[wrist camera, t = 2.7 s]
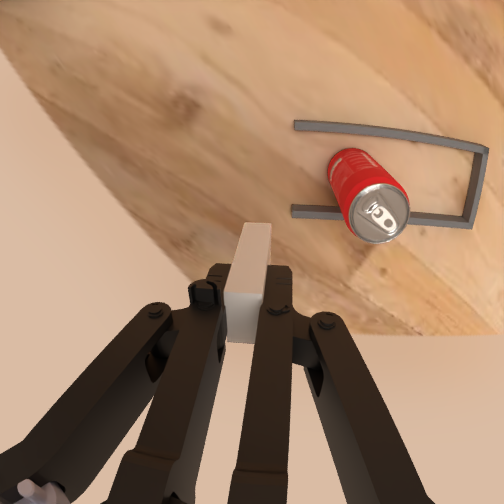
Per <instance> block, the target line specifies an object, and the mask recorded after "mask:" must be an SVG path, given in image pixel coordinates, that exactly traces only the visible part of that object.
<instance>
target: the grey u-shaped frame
mask: <svg viewBox="0 0 504 504" xmlns="http://www.w3.org/2000/svg"><path fill="white" fill-rule="evenodd" d="M294 128H295V130H308V131H325V132H339V133H351V134H361V135H371V136H380V137H388V138H396V139H404V140H411V141H417V142H424V143H430V144H436V145H442V146H447V147H452V148H458V149H463V150H468V151H472V152H475V155H474V161H473V167H472V173H471V178H470V183H469V188H468V193H467V198H466V203H465V207H464V211H463V215H462V216H452V215H442V214H431V213H420V212H410V216H409V220H408V223H407V224H411V225H425V226H437V227H450V228H461V229H472V228H473V224H474V221H475V217H476V213H477V209H478V204H479V200H480V196H481V191H482V186H483V181H484V176H485V171H486V165H487V159H488V153H489V148H488V147H486V146H483V145H481V144H477V143H472V142H468V141H463V140H459V139H454V138H449V137H444V136H438V135H433V134H427V133H421V132H415V131H408V130H402V129H395V128H387V127H379V126H370V125H361V124H351V123H339V122H326V121H310V120H294ZM292 218H306V219H328V220H344V217H343V215H342V212H341V209H340V207H335V206H316V205H293V204H292Z"/></svg>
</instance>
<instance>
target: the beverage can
mask: <svg viewBox="0 0 504 504" xmlns="http://www.w3.org/2000/svg"><path fill="white" fill-rule="evenodd" d="M328 179H329V182H330V184H331V187H332V189H333V192H334V194H335V197H336V199H337V202H338V204H339V207H340V209H341V212H342V215H343V217H344V220H345V222H346V225H347V227H348V228H349V230H350V231H351V232H352V233H353V234H354V235H355V236H357V237H359V238H360V239H361V240H363V241H365V242H368V243H372V244H381V243H386V242H389V241H391V240H393V239H395V238H396V237H397V236H399V235H400V234H401V233H402V231H403V230H404V229H405V227H406V225H407V223H408V220H409V216H410V204H409V200H408V196H407V194H406V192H405V190H404V189H403V187H402V186H401V185H400V184H399V183H398V182H397V181H396V180H395V179H394V178H393V177H392V176H391V175H390V174H389V173H388V172H387V171H386V170H385V169H384V168H383V167H382V166H381V165H379V164H378V163H377V162H376V161H375V160H374V159H373V158H372V157H371V156H370V155H369V154H368V153H366V152H365V151H363V150H360V149H356V148H349V149H345V150H342V151H340V152H339V153H337V154H336V155H335V156H334V157H333V158H332V160H331V161H330V164H329V167H328Z"/></svg>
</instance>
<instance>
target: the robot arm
mask: <svg viewBox="0 0 504 504" xmlns="http://www.w3.org/2000/svg"><path fill="white" fill-rule="evenodd" d="M188 292H189V298H190V306H189V307H187V308H184V309H179V310H171V308H170V307H169V305H167V304H165V303H162V302H155V303H151V304H148V305H146V306H145V307H143V308H142V309H141V310H140V311H139V312H138V314H137V315H136V316H135V317H134V318H133V319H132V320H131V321H130V322H129V323H128V324H127V325H126V326H125V327H124V328H123V329H122V330H121V331H120V332H119V334H118V335H117V336H116V337H115V338H114V339H113V340H112V341H111V342H110V343H109V344H108V345H107V346H106V347H105V349H104V350H103V351H102V352H101V353H100V354H99V355H98V356H97V357H96V358H95V359H94V360H93V362H92V363H91V364H90V365H89V366H88V367H87V368H86V369H85V371H83V372H82V374H81V375H80V376H79V377H78V378H77V379H76V380H75V381H74V383H73V384H72V385H71V386H70V387H69V388H68V389H67V391H66V392H64V394H63V395H62V396H61V397H60V398H59V399H58V400H57V402H56V403H55V404H54V405H53V406H52V407H51V408H50V410H49V411H48V412H47V413H46V414H45V415H44V417H43V418H42V419H41V420H40V421H39V422H38V423H37V424H36V426H35V427H34V428H33V429H32V430H31V431H30V433H29V434H28V435H27V436H26V438H25V439H24V440H23V441H21V442H20V443H18V444H17V445H15V446H13V447H12V448H10V449H8V450H7V451H5V452H3V453H2V454H0V504H71V503H72V502H74V501H75V500H76V499H77V498H78V497H79V496H80V495H81V494H83V493H84V491H85V490H86V489H87V488H88V487H89V485H90V484H91V483H92V481H93V480H94V479H95V477H96V476H97V474H98V473H99V472H100V470H101V469H102V468H103V466H104V465H105V463H106V462H107V460H108V459H109V458H110V456H111V455H112V454H113V452H114V451H115V449H116V448H117V447H118V445H119V444H120V442H121V441H122V439H123V438H124V437H125V435H126V434H127V433H128V431H129V430H130V428H131V427H132V426H133V424H134V423H135V421H136V420H137V418H138V417H139V416H140V414H141V413H142V412H143V410H144V409H145V407H146V406H147V404H148V403H149V402H150V400H151V399H152V397H153V396H154V397H153V400H152V403H151V406H150V408H149V411H148V414H147V416H146V419H145V422H144V425H143V427H142V430H141V433H140V436H139V439H138V441H137V444H136V446H135V448H134V449H133V450H129V451H127V452H126V453H125V454H124V456H123V458H122V460H121V463H120V465H119V468H118V471H117V474H116V477H115V479H114V482H113V485H112V488H111V491H110V494H109V496H108V499H107V500H106V501H104V502H102V503H101V504H195V485H196V481H197V476H198V472H199V467H200V462H201V458H202V454H203V449H204V445H205V440H206V436H207V431H208V427H209V422H210V418H211V413H212V408H213V405H214V400H215V396H216V391H217V387H218V382H219V378H220V374H221V369H222V365H223V360H224V355H225V351H226V349H225V340H226V336H227V341H228V342H236V343H249V344H255V345H254V352H253V359H252V366H251V372H250V379H249V386H248V392H247V399H246V405H245V412H244V419H243V426H242V431H241V438H240V444H239V450H238V457H237V463H236V467H235V469H234V471H233V474H232V480H231V485H230V491H229V496H228V503H227V504H286V502H287V488H288V473H287V468H288V467H287V466H288V451H289V431H290V409H291V382H292V381H291V380H292V363H294V364H298V365H301V366H304V371H305V374H306V378H307V380H308V384H309V387H310V389H311V393H312V396H313V399H314V402H315V405H316V408H317V411H318V414H319V417H320V420H321V423H322V426H323V429H324V433H325V436H326V439H327V442H328V445H329V448H330V451H331V454H332V457H333V461H334V463H335V466H336V470H337V473H338V476H339V479H340V483H341V486H342V489H343V492H344V495H345V498H346V502H347V504H435V503H434V502H433V501H432V500H431V499H430V498H429V497H428V496H427V494H426V492H425V490H424V487H423V485H422V483H421V480H420V478H419V476H418V474H417V471H416V469H415V467H414V465H413V462H412V460H411V458H410V455H409V454H408V451H407V449H406V447H405V445H404V442H403V440H402V438H401V436H400V434H399V432H398V429H397V428H396V426H395V423H394V421H393V419H392V417H391V415H390V413H389V410H388V408H387V406H386V404H385V402H384V400H383V398H382V396H381V394H380V392H379V390H378V388H377V386H376V384H375V382H374V380H373V378H372V376H371V374H370V372H369V370H368V368H367V366H366V364H365V362H364V360H363V358H362V356H361V354H360V352H359V350H358V348H357V346H356V344H355V342H354V340H353V338H352V337H351V335H350V333H349V331H348V329H347V327H346V325H345V323H344V321H343V320H342V319H341V317H340V316H338V315H336V314H335V313H331V312H319V313H316V314H315V315H313V316H312V317H311V318H310V317H306V316H303V315H301V314H299V313H298V312H297V311H295V309H294V308H293V305H292V271H291V269H290V268H289V267H288V266H278V265H271V223H253V222H245V223H244V226H243V229H242V232H241V236H240V239H239V242H238V245H237V249H236V252H235V255H234V259H233V262H232V264H220V263H216V264H215V265H214V266H212V267H211V268H210V270H209V272H208V275H207V277H206V279H201V280H197V281H195V282H193V283H191V284H190V285H189V287H188Z"/></svg>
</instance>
